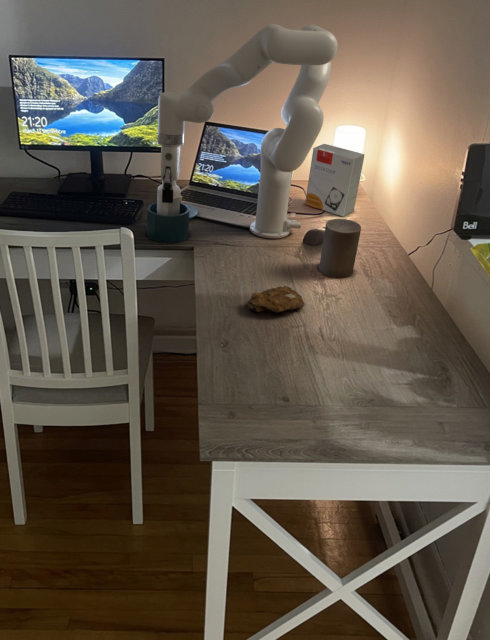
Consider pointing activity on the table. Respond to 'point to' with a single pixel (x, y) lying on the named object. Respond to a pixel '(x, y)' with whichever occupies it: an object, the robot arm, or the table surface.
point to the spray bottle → (169, 208)
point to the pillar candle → (339, 247)
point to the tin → (168, 224)
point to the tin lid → (192, 210)
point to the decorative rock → (276, 300)
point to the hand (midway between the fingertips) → (168, 197)
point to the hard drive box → (334, 179)
